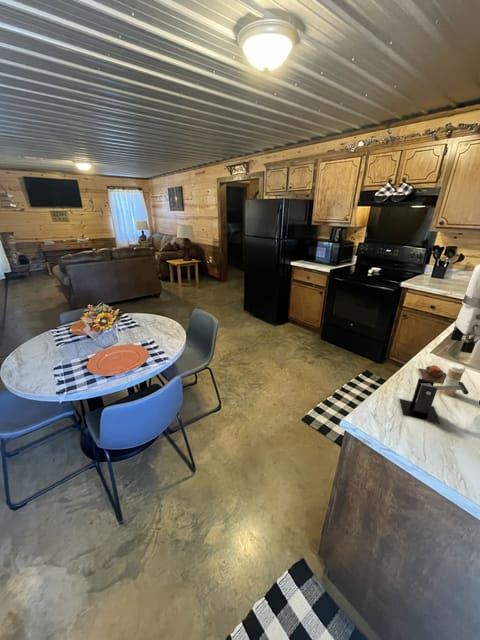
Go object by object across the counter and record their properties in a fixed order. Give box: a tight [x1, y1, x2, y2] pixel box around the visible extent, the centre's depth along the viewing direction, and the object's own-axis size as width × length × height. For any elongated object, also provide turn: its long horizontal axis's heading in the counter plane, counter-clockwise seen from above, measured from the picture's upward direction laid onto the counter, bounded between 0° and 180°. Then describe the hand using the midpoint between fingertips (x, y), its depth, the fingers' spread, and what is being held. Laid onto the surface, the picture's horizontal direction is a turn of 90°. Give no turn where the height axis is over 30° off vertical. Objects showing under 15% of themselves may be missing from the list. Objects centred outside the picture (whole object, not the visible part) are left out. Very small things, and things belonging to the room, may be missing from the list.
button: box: [430, 364, 441, 373], centre depth 113 cm, size 3×3×2 cm
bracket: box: [399, 378, 441, 425], centre depth 92 cm, size 11×9×13 cm
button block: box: [418, 365, 447, 384], centre depth 113 cm, size 10×9×4 cm
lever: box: [421, 381, 469, 395], centre depth 88 cm, size 12×5×2 cm, turn 68°
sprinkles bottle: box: [440, 362, 466, 397], centre depth 101 cm, size 5×5×13 cm
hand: (460, 346), depth 95 cm, fingers open, 9 cm apart
